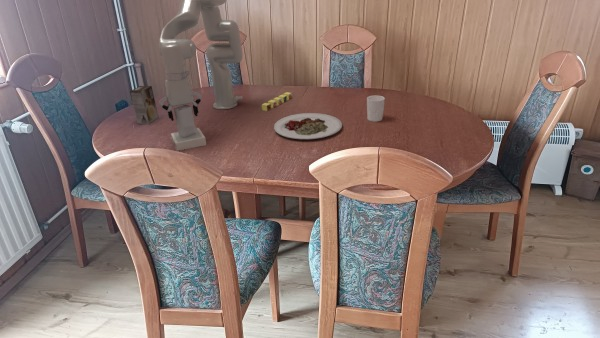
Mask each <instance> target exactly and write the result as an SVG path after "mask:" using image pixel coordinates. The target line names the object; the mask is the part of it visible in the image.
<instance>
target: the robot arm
mask: <svg viewBox="0 0 600 338" xmlns="http://www.w3.org/2000/svg"><path fill="white" fill-rule="evenodd" d="M226 2H227V0H179V6H178V10H177V14H175V16H174V17H173V18H171V19H170V20H169V21H168V23H166V24H165V25H164V27H163V28H162V30H161V32H160V37H159V40H158V52H159V55H160V56H161V57H162V61H163V66H164V70H165V75H166V77H165V78H166V80H164V89H165V96H163V97H162V98H161V99H159V100H158V102H157V103H158V104H159V105H160V107H161V108H162V109H164V110H165V111H166V112H167V114H168V118H169V119H170V120H171V122H174V114H173V111H172V109H173V107H179V106H183V105H189V104H192V111H193V116H195V117H198V114H199V108H198V106H199V104H200V103H201V100H202V97H203V94H202V93H200V92H196V91H194V90H193V88H192V87H193V86H192V84H191V81H190V79H189V76H190V75H191V72H190V71H189V70H186V66H185V60H189V59H192V58H193V57H195V55H196V53H197V45H196V42H194V41H193V40H191V39H190V38H177V36H178V35H180V34H182V33H184V32H186V31H188V30H190V29H192V28H194V27H196V26H197V25H198V24H199V23H198V22H199V19H200V15H201V17H202V22H203V28H204V32H205V37H206V38H207V39H208V41H210V42H215V43H211V44H209V45H208V46H207V47H206V50H205V53H206V54H205V55H206V58H207V61H208V64H209V68H210V73H211V79H212V87H213V93H214V99H215V100H214V101H215V102H214V103H212V107H213V108H214V109H216V110H229V109H233V108H236V107H237V106H238V101H243V100H244V97H243V96H242V95H241V96H239V95H236V96H235V95H234V90H233V82H232V73H231V70H230V68H229V66H228V65H227V64H239V63H241V62H242V61H243V56H244V55H243V47H242V42H241V41H242V39H241V34H240V27H239V26H238V23H237V22H236V21H235V20H232V19H231V20H230V19H222V16H221V10H220V7H219V6H222V5H224V4H225V3H226ZM217 42H218V43H217ZM227 42H228V43H227ZM194 96H195V97H197V98H196V100H195V97H194ZM166 101H167V104H168V105H166V104H164V103H165V102H166Z"/></svg>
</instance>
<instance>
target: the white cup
mask: <svg viewBox="0 0 600 338" xmlns="http://www.w3.org/2000/svg"><path fill="white" fill-rule="evenodd" d="M385 99H386V98H385V97H384V96H382V95H369V96H367V97H366V113H367V116H366V117H367V121H369V122H375V123H376V122H381V121H382V120H383V116H384V109H385Z"/></svg>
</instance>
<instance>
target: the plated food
mask: <svg viewBox="0 0 600 338" xmlns="http://www.w3.org/2000/svg"><path fill="white" fill-rule="evenodd" d="M342 123H343V122H342V121H341V120H340V119H339V118H338V117H335V116H333V115H330V114H325V113H318V112H316V113H315V112H306V113H305V112H302V113H296V114H291V115H287V116H285V117H283V118H280V119H278V120H277V121H276V122H275V123H274V125H273V130H274V131H275V132H276V134H277V135H280V136H282V137H285V138H288V139H296V140H315V139H323V138H325V137H326V138H327V137H330V136H332V135H335V134H337V133H338V132H339V131H340V130H341V129H342V127H343V124H342Z"/></svg>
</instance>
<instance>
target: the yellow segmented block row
mask: <svg viewBox="0 0 600 338" xmlns="http://www.w3.org/2000/svg"><path fill="white" fill-rule="evenodd" d="M292 99H293V92H287V91H286V92H284V93H283V94H281V95H278V97H277V96H276V97H274V98H273V99H270V100H268V101H267V102H264V103H262V104H261V110H262V111H264V112H268V111H270V110H272V109H274V108H276V107H277V106H280V105H282V104H283V103H285V102H288V100H292Z"/></svg>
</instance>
